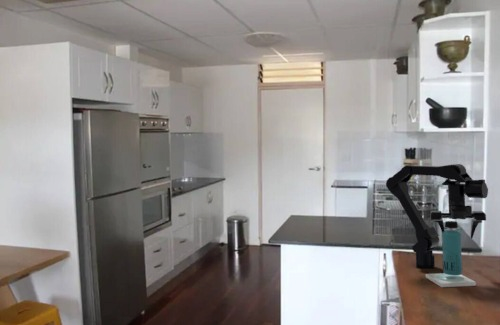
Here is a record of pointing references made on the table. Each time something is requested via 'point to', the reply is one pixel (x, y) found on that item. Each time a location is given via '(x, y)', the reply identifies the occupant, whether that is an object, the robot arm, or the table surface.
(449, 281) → the pad
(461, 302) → the table surface
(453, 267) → the beverage bottle
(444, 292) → the table surface
